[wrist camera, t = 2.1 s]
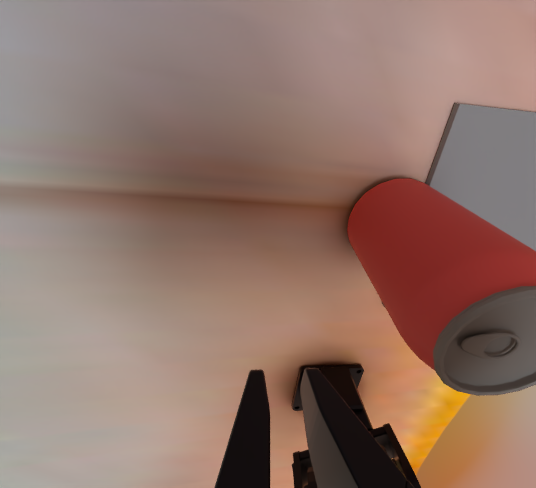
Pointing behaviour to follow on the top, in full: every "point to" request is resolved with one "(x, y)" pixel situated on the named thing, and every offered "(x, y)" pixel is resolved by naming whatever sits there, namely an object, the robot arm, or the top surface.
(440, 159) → the mat
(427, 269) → the beer can
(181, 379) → the top surface
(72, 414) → the top surface
